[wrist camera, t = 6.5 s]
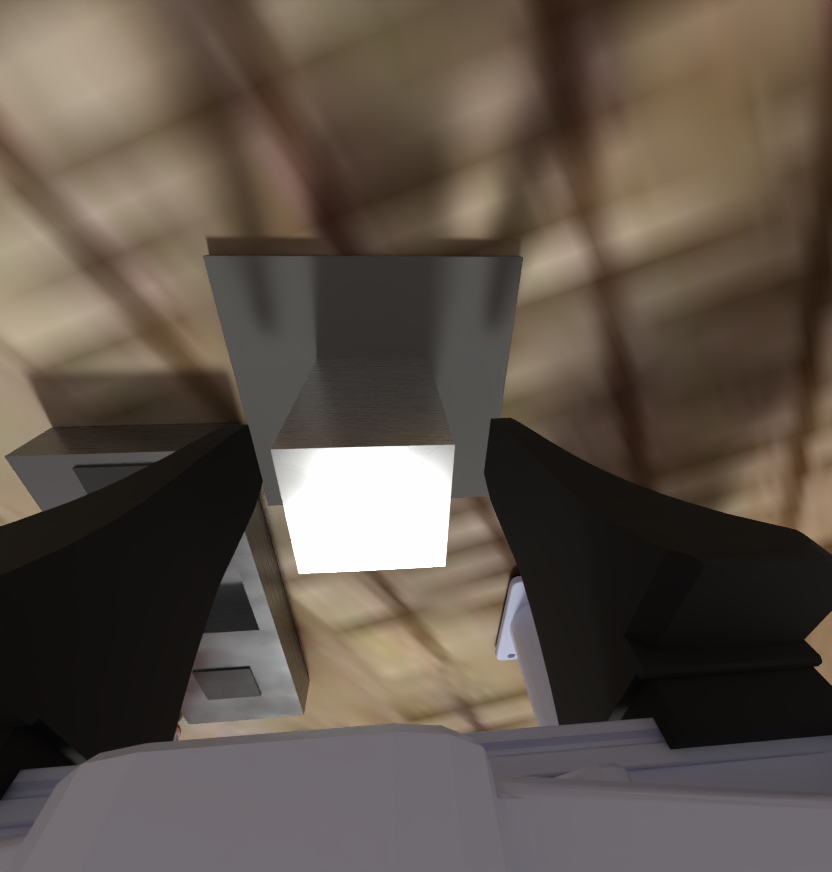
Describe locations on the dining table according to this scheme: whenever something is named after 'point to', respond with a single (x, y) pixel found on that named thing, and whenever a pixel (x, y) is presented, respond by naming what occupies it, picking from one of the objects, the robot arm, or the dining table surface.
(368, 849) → the robot arm
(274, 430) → the mat
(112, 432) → the grey slotted board
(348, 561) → the grey rectangular block
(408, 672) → the dining table surface
